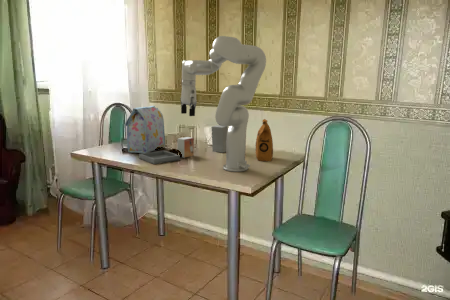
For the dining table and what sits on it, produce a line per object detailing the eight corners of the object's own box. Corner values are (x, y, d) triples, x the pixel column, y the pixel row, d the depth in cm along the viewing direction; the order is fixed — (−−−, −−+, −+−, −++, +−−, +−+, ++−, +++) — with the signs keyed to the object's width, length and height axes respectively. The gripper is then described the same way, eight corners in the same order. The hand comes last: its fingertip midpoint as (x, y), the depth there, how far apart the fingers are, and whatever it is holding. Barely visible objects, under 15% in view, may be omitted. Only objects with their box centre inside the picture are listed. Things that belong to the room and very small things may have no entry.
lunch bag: (143, 145, 232) (142, 104, 226) (167, 147, 226) (166, 105, 221) (123, 152, 211) (121, 107, 205) (148, 154, 205) (147, 108, 200)
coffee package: (254, 161, 195) (255, 121, 191) (255, 156, 207) (257, 118, 203) (272, 162, 194) (274, 121, 189) (272, 157, 206) (274, 119, 201)
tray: (179, 159, 195) (179, 155, 194) (153, 164, 184) (153, 159, 184) (164, 154, 206) (164, 150, 206) (139, 158, 196) (138, 153, 196)
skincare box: (228, 151, 219) (229, 125, 216) (222, 153, 213) (223, 127, 210) (217, 149, 223) (217, 124, 220) (210, 151, 217) (211, 125, 214)
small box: (184, 158, 199) (184, 139, 197) (177, 156, 203) (176, 138, 201) (193, 155, 206) (193, 137, 204) (186, 154, 209) (186, 136, 207)
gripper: (202, 84, 190) (201, 116, 194) (187, 82, 204) (186, 112, 208) (189, 84, 185) (189, 117, 190) (175, 82, 199) (175, 112, 203)
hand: (187, 114), depth 199 cm, fingers open, 9 cm apart
